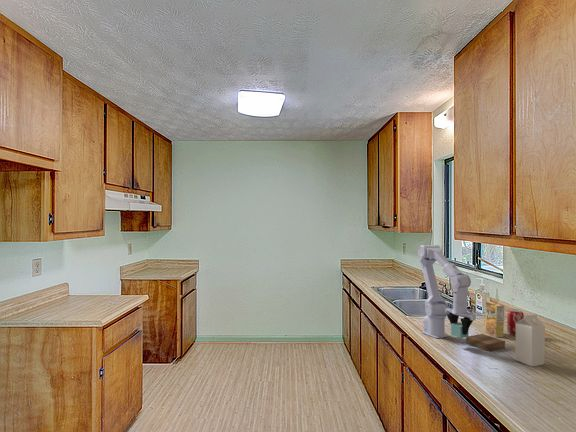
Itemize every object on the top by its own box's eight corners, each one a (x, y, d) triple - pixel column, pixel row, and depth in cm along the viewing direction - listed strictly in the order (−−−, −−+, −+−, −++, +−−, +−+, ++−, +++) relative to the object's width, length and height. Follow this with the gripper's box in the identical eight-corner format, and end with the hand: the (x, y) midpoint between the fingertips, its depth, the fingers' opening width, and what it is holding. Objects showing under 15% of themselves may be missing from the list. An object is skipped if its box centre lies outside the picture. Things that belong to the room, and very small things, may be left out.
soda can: (527, 335, 183) (527, 311, 183) (516, 337, 181) (517, 312, 181) (513, 331, 190) (514, 307, 190) (503, 332, 187) (504, 309, 187)
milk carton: (515, 360, 151) (515, 313, 151) (527, 358, 154) (528, 311, 154) (532, 367, 144) (532, 317, 144) (544, 364, 147) (545, 316, 147)
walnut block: (466, 344, 171) (466, 336, 171) (482, 341, 175) (482, 333, 175) (487, 352, 161) (487, 344, 161) (504, 349, 165) (504, 341, 165)
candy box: (484, 331, 189) (485, 301, 189) (492, 331, 189) (492, 301, 189) (496, 337, 180) (496, 305, 180) (504, 337, 180) (504, 305, 180)
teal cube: (450, 334, 167) (451, 323, 167) (458, 333, 170) (459, 322, 169) (460, 338, 163) (460, 326, 163) (468, 336, 165) (468, 325, 165)
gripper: (440, 299, 171) (440, 328, 171) (467, 306, 158) (467, 338, 158) (451, 297, 174) (451, 327, 174) (479, 304, 161) (478, 336, 161)
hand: (459, 332), depth 166 cm, fingers closed on teal cube, 5 cm apart
